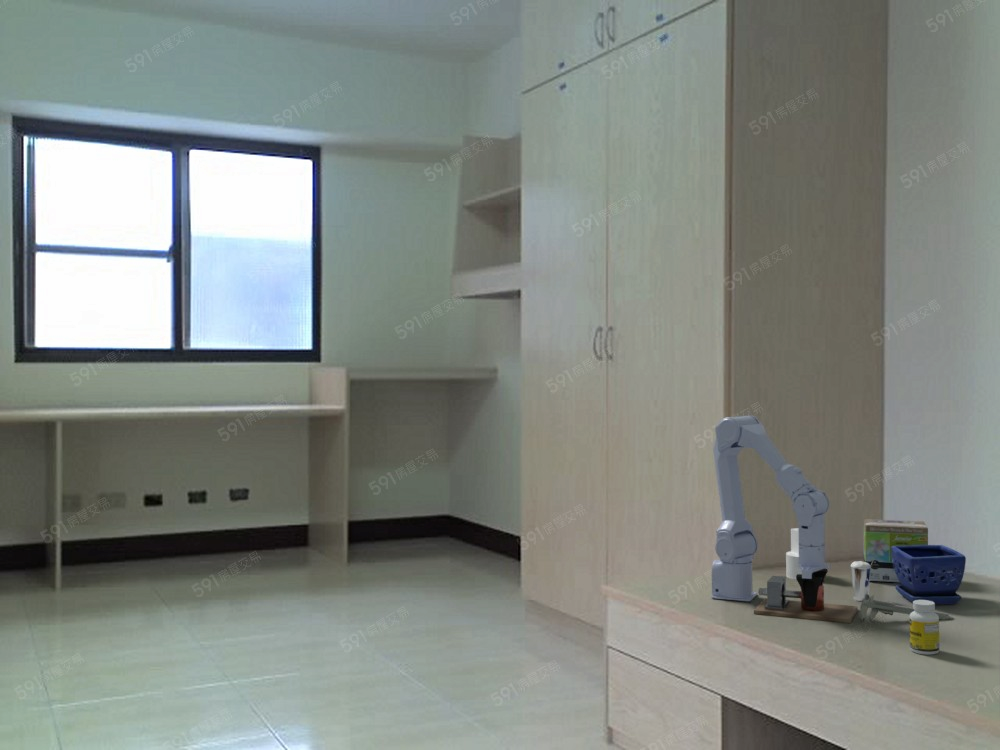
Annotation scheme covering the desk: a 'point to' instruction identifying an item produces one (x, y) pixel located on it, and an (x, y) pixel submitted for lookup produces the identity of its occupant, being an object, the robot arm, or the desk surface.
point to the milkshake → (860, 579)
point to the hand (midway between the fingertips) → (812, 603)
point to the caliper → (888, 608)
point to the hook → (799, 595)
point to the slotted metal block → (776, 593)
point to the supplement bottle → (924, 628)
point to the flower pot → (928, 572)
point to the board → (811, 612)
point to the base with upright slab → (793, 556)
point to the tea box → (889, 544)
